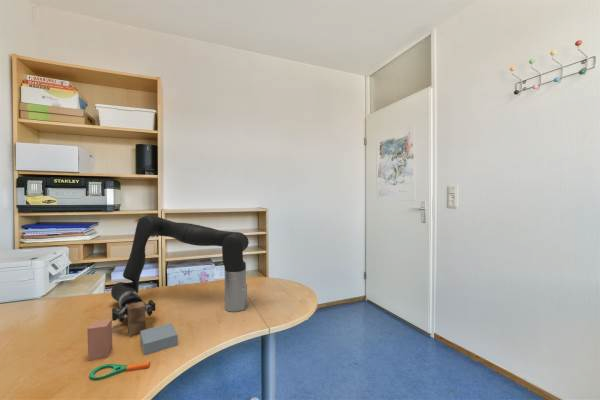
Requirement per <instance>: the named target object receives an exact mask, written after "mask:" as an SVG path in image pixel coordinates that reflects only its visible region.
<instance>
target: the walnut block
mask: <svg viewBox="0 0 600 400" xmlns="http://www.w3.org/2000/svg"><path fill="white" fill-rule="evenodd" d="M143 302H144V301H142V302H138V303H134V304H129V305H127V310H128V316H127V332H128V336H129V337H130V338H132V337H134V336H139V335H140V331H142V330H146V329H147V328H146V319H147V318H146V312H145V305H144V303H145V302H144V303H143Z"/></svg>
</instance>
